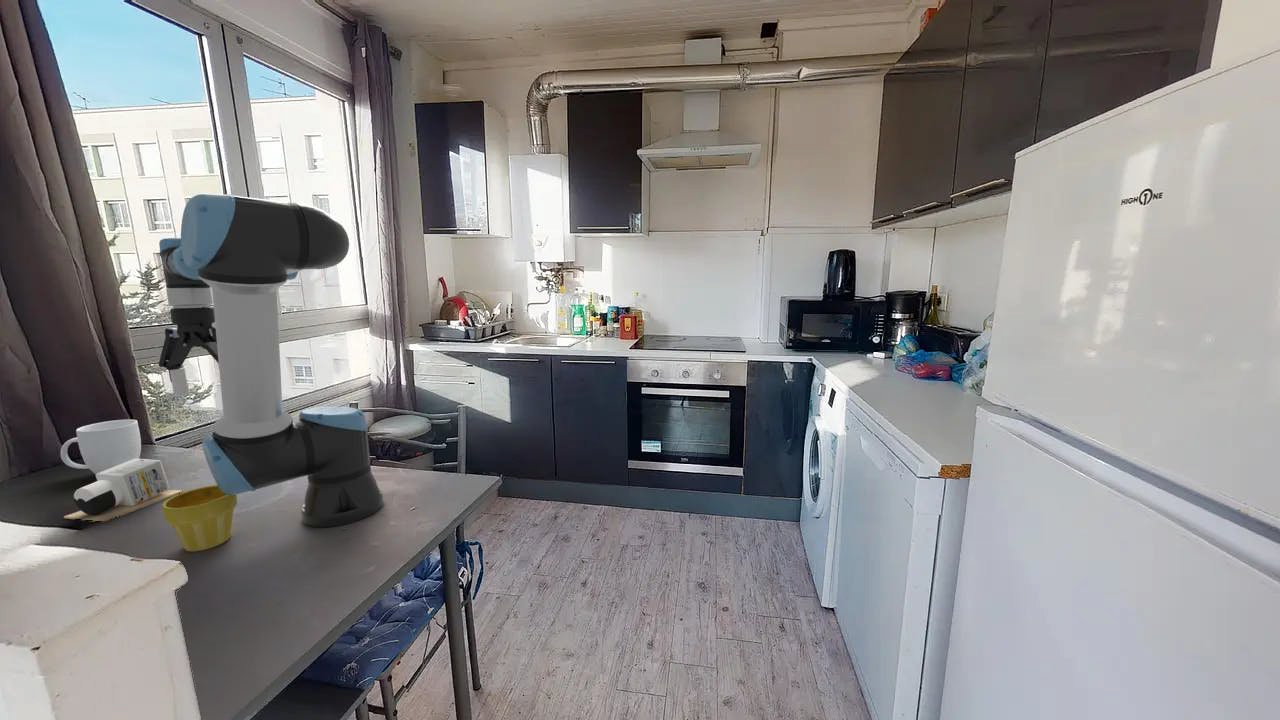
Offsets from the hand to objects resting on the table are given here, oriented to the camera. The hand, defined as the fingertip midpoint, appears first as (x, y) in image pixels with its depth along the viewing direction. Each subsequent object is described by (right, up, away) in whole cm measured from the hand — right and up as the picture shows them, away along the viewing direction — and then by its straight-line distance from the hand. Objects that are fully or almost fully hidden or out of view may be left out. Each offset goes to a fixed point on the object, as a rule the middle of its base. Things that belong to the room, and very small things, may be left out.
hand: (206, 396), depth 113 cm
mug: (-38, -22, +14) cm, 46 cm away
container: (-12, -18, 0) cm, 22 cm away
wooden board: (-13, -24, -5) cm, 28 cm away
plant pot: (+20, -27, -22) cm, 40 cm away
